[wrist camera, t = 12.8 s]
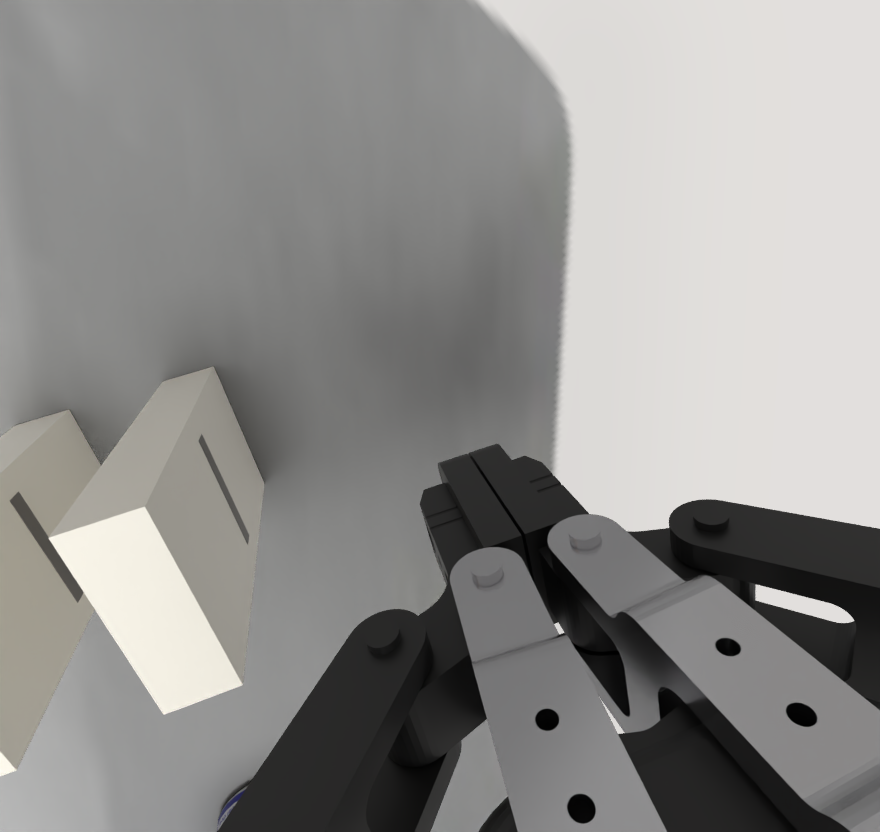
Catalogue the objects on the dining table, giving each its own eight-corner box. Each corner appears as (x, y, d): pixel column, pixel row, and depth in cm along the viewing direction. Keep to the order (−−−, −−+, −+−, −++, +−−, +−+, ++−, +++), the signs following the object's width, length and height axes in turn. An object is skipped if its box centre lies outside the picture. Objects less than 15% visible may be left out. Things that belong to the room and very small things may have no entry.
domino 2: (265, 483, 22) (244, 684, 13) (218, 498, 22) (162, 715, 12) (214, 366, 20) (146, 505, 11) (162, 381, 19) (46, 538, 10)
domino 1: (135, 526, 21) (17, 769, 12) (86, 542, 21) (-73, 803, 12) (69, 409, 19) (-133, 597, 10) (13, 425, 19) (-245, 633, 10)
